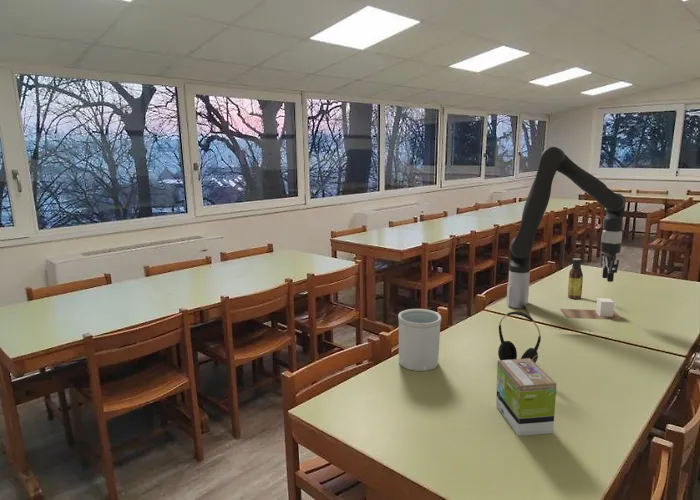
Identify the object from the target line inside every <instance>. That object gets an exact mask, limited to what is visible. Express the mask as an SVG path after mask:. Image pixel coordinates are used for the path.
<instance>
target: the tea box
mask: <svg viewBox="0 0 700 500" xmlns="http://www.w3.org/2000/svg"><path fill="white" fill-rule="evenodd" d="M496 365H497V367H496V371H497V374H496V395H495V396H496V397H495V405H496V407H497V409H498V410H499V411H500V413H501V415H502V416H503V417H504V418H505V420H506V421H507V423H508V424H509V425H510V427H511V428H512V430H513V432H515V433H516V435H517V436H518V437H521V436H522V437H523V436H534V435H535V436H537V435H538V436H539V435H548V434H553V433H554V427H555V413H556V412H555V410H556V398H557V382H556V381H555V380H553V378H551V377H550V376H549V374H547V373H546V372H545V370H543V369H542V368H541V367H540V366H539V365H538V364H537V363H534V362H533V361H532V360H531V359H530V358H526V359H521V358H517V359H513V360H500V359H498V360H497V364H496Z"/></svg>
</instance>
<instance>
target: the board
mask: <svg viewBox="0 0 700 500" xmlns="http://www.w3.org/2000/svg"><path fill="white" fill-rule="evenodd" d="M559 310H560V311H561V313H562V314H563V315H564V316H565V317H566V318H567V319H583V320H584V319H585V320H586V319H589V320H592V319H593V320H610V321H611V320H613V321H617V320H618V321H625V319H624V318H623V317H622V316H621V315H620V314H618V312H616V311H615V310H614V312H613V317H605V316H599V315H598V314H597V313H596V309H578V308H577V309H574V308H573V309H571V308H559Z"/></svg>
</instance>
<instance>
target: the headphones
mask: <svg viewBox="0 0 700 500" xmlns="http://www.w3.org/2000/svg"><path fill="white" fill-rule="evenodd" d="M511 315H513V316H514V315H516V316H521V317H524V318H526V319H527V320H529V321H530V322H532V323H533V324H534V325H535V327H536V329H537V332H538V337H537V341H536V344H535V346H534V347H529V348H527V349H526V351H524V352H523V354H522V355H521V358H520V359H526V358H530V359H531V360H532V361H533V362H534V363H535V364H537V361H538V359H539V353H538V349H539V346H540V344H541V341H542V339H541V338H542V335H541V330H540V328H539V326H538V325H537V323H536V322H535V320H534V319H533V318H532V317H531V316H530V315H528V314H527V313H525V312H522V311H516V310H515V311H510V312H508V313H506V314H505V315H504V316H502V318H501V319H500V320H499V324H498V335H499V340H500V344H499V346H498V350H497V355H498V360H499V361H500V360H513V359H518V358H517V357H518V352H517V348H516V346H515V344H514V343H513V342H512V341H510V340H505V339H504V336H503V332H502V322H503V320H504V319H505V318H506V317H507V316H511Z"/></svg>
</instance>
